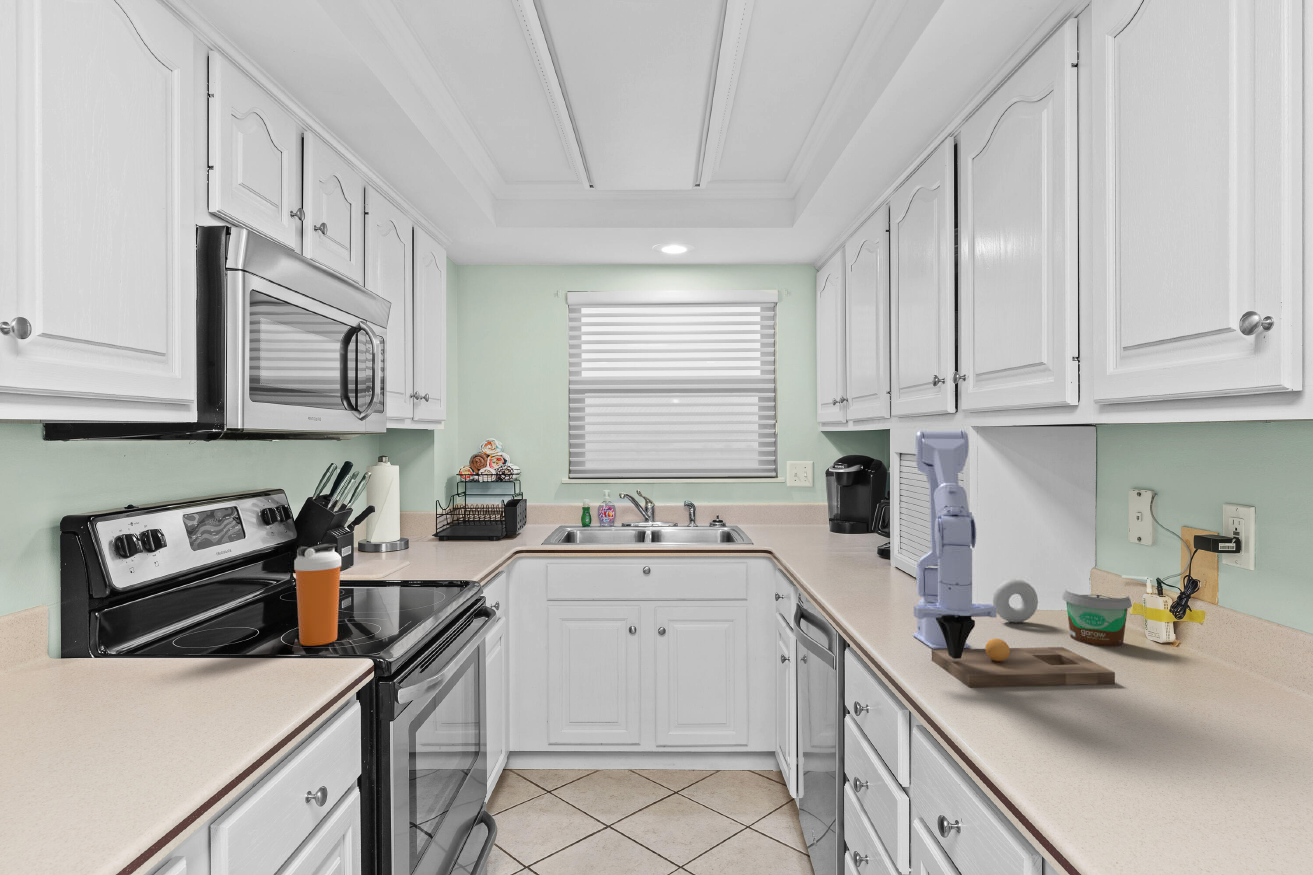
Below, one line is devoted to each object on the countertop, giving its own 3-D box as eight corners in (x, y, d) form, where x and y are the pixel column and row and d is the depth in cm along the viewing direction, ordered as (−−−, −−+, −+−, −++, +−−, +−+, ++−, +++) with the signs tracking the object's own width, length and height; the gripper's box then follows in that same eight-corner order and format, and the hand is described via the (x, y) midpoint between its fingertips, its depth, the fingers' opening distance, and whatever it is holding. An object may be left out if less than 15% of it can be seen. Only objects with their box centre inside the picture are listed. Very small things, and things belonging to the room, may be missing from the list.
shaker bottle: (350, 638, 145) (350, 544, 145) (310, 649, 138) (309, 550, 137) (326, 632, 150) (325, 541, 150) (285, 642, 142) (285, 547, 142)
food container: (1063, 643, 141) (1064, 594, 141) (1062, 635, 147) (1062, 588, 147) (1136, 652, 135) (1136, 601, 135) (1131, 643, 141) (1131, 595, 141)
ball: (980, 657, 126) (981, 635, 126) (1001, 656, 126) (1001, 635, 126) (992, 664, 122) (992, 642, 122) (1014, 664, 122) (1014, 642, 122)
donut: (996, 624, 155) (997, 580, 155) (989, 620, 158) (989, 577, 158) (1041, 624, 155) (1041, 580, 155) (1032, 620, 158) (1033, 577, 158)
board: (931, 659, 131) (931, 649, 131) (1062, 657, 132) (1062, 646, 132) (969, 687, 117) (969, 675, 117) (1114, 683, 118) (1114, 672, 118)
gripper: (925, 587, 119) (925, 665, 119) (1006, 586, 120) (1006, 663, 120) (908, 578, 126) (908, 652, 126) (984, 577, 127) (984, 650, 127)
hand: (954, 656), depth 124 cm, fingers closed
